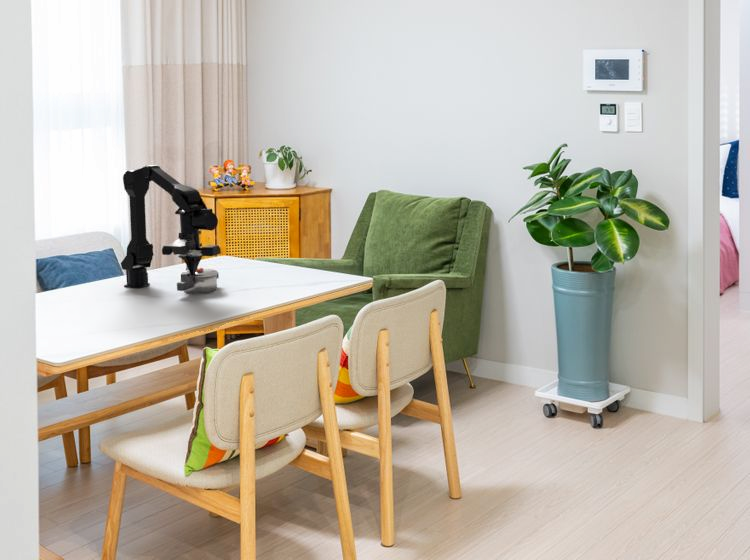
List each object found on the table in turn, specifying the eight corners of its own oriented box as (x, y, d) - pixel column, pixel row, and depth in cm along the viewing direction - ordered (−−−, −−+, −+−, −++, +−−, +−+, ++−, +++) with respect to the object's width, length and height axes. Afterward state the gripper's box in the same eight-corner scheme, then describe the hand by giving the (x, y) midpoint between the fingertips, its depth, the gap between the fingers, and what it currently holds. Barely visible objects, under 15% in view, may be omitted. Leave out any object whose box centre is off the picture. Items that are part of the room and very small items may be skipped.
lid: (191, 271, 325) (191, 263, 325) (222, 272, 322) (222, 265, 322) (167, 281, 308) (167, 273, 308) (200, 282, 306) (200, 275, 305)
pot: (200, 284, 329) (199, 270, 328) (227, 287, 325) (227, 272, 324) (165, 296, 311) (165, 281, 310) (194, 299, 306) (194, 283, 305)
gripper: (150, 231, 302) (154, 279, 305) (202, 232, 296) (205, 282, 299) (169, 226, 312) (173, 273, 315) (220, 227, 306) (223, 275, 309)
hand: (192, 276), depth 309 cm, fingers closed
